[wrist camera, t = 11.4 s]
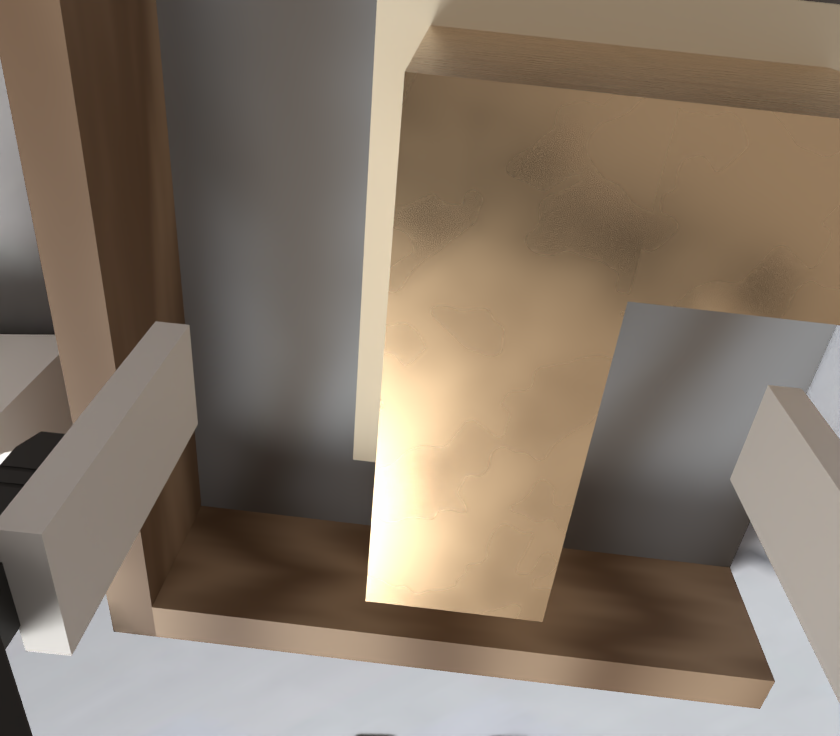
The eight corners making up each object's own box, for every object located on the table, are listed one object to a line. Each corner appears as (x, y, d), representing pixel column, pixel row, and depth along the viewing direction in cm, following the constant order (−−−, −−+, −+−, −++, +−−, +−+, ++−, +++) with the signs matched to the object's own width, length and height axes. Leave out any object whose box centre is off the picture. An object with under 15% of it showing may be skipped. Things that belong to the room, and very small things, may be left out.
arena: (172, 519, 32) (113, 631, 27) (94, -140, 19) (-44, -167, 14) (714, 583, 32) (759, 708, 26) (986, -47, 19) (1171, -40, 14)
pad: (355, 450, 28) (352, 459, 28) (382, -45, 20) (379, -44, 19) (709, 491, 28) (714, 501, 28) (897, 10, 19) (908, 12, 19)
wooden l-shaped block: (430, 24, 20) (404, 71, 13) (829, 67, 20) (1016, 137, 13) (394, 433, 27) (365, 600, 20) (686, 466, 27) (756, 647, 20)
